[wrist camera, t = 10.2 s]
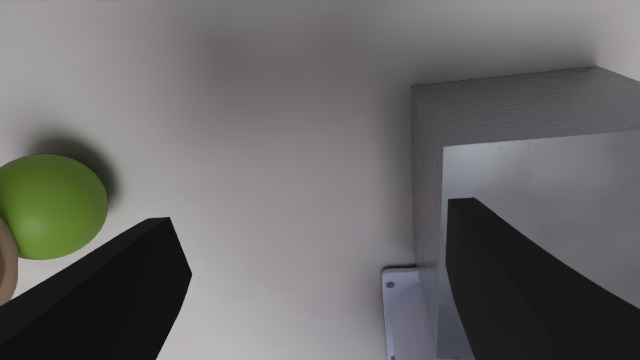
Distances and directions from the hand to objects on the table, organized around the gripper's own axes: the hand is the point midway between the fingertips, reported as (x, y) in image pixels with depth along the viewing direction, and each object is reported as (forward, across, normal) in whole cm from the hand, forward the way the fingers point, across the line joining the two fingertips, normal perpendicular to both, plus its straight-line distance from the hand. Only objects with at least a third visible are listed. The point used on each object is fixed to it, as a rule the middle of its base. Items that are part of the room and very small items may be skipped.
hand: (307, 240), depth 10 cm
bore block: (+10, -8, +4) cm, 13 cm away
